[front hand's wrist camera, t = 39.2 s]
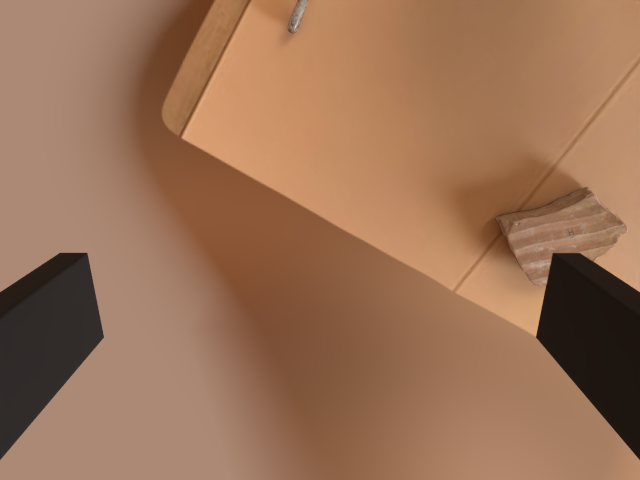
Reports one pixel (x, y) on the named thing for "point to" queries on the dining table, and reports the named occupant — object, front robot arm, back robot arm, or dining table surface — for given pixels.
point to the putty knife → (297, 16)
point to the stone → (560, 232)
